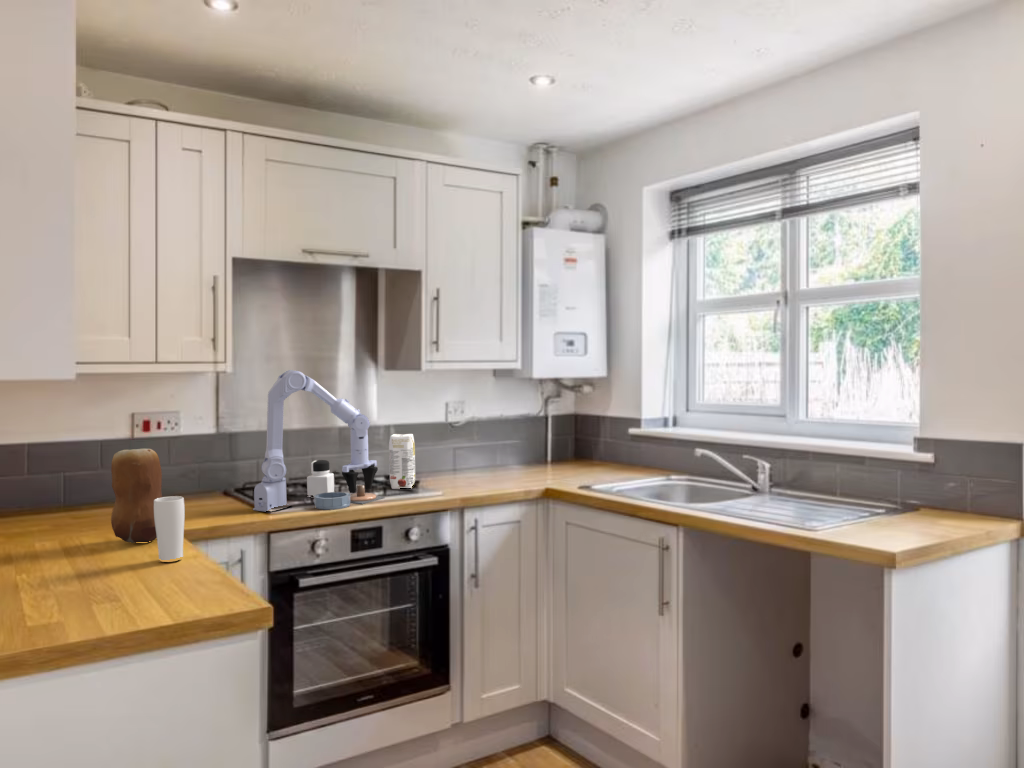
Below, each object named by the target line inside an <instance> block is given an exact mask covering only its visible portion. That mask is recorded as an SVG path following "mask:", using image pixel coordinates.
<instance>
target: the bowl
mask: <svg viewBox="0 0 1024 768" xmlns="http://www.w3.org/2000/svg"><path fill="white" fill-rule="evenodd" d="M350 494H351V493H350V492H347V491H346V492H345V491H334V492H327V493H321V494H317V495H315V496H314V497H313V498H314V499H313V500H314V501H313V504H314V508H315V507H316V508H315V509H318V510H321V511H322V510H323V511H324V510H325V511H328V510H329V511H330V510H341V509H345V508H349V507H350V506H351V503H350Z"/></svg>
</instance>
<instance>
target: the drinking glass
mask: <svg viewBox="0 0 1024 768" xmlns="http://www.w3.org/2000/svg"><path fill="white" fill-rule="evenodd" d="M185 507H186V506H185V498H184V497H183V496H179V495H175V496H173V495H172V496H162V498H157V499H155V500H154V521H155V529H156V536H157V538H156V543H157V550H158V560H159V559H161V560H170V559H176V558H180V557H183V558H184V539H185V538H184V535H185V521H186V519H185V518H186V517H185V516H186V515H185V513H186V512H185V511H186V508H185Z"/></svg>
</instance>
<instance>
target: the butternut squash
mask: <svg viewBox="0 0 1024 768" xmlns="http://www.w3.org/2000/svg"><path fill="white" fill-rule="evenodd" d="M110 471H111V488H112V490H113V492H114V496H115V502H114V504H113V507H112V512H111V517H110V518H111V519H110V521H111V528H112V530H113V534H114V536H115V537H116V538H120V539H121V540H122V541H124V542H127V543H130V542H131V543H130V544H137V543H136V542H149V541H152V540H154V541H155V540H157V536H156V529H155V521H154V500H155V499H157V498H162V497H163V494H162V485H163V483H162V480H163V471H162V466H161V461H160V457H159V455H158V453H157V452H156V451H155V450H154V449H152V448H137V449H136V448H134V449H122V450H119V451H117V452H115V453H114V454H113V457H112V460H111V469H110ZM149 543H150V542H149Z"/></svg>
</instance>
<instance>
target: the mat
mask: <svg viewBox="0 0 1024 768" xmlns="http://www.w3.org/2000/svg"><path fill="white" fill-rule="evenodd" d="M385 498H386V497H385V496H381V495H376V499H373V500H369V501H350V504H358V505H364V504H368V503H372V502H375V501H379V500H383V499H385Z"/></svg>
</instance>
